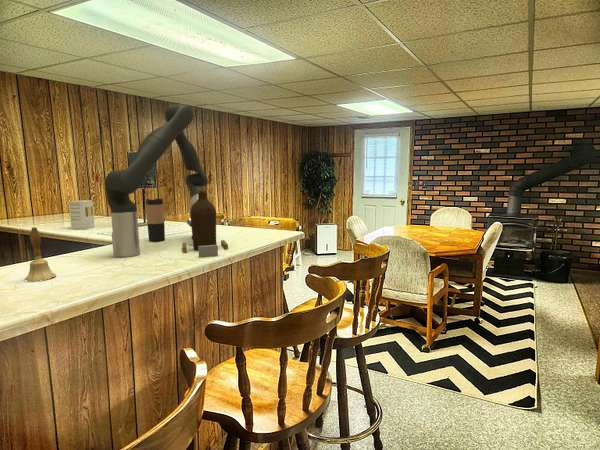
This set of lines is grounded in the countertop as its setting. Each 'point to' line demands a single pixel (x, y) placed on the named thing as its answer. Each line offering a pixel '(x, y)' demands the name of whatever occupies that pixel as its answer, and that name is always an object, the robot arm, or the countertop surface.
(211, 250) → the block
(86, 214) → the supplement box
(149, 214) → the travel mug
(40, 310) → the countertop surface
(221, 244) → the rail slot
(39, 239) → the hand bell
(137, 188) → the robot arm
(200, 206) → the olive oil
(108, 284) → the countertop surface
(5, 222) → the countertop surface
